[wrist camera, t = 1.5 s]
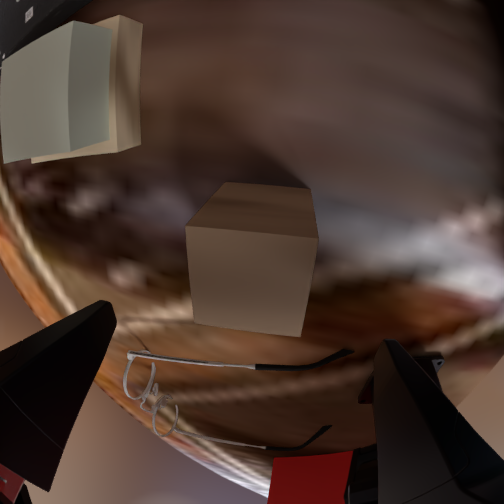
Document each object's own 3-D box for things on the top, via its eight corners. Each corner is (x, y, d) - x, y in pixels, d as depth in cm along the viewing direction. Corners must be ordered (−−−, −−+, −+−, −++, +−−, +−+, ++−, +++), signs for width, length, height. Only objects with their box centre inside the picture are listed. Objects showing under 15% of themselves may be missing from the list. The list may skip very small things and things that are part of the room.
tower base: (145, 143, 15) (117, 152, 12) (61, 152, 15) (31, 163, 13) (147, 25, 11) (119, 14, 8) (59, 55, 12) (29, 55, 9)
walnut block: (301, 263, 16) (300, 336, 11) (225, 255, 17) (194, 323, 12) (310, 188, 14) (318, 238, 9) (225, 181, 15) (185, 226, 9)
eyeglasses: (127, 321, 22) (100, 362, 18) (356, 333, 19) (365, 388, 15) (175, 413, 30) (163, 446, 25) (330, 427, 26) (330, 464, 22)
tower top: (110, 139, 12) (70, 151, 9) (39, 150, 12) (4, 163, 10) (112, 29, 9) (73, 20, 6) (38, 59, 9) (2, 61, 7)
